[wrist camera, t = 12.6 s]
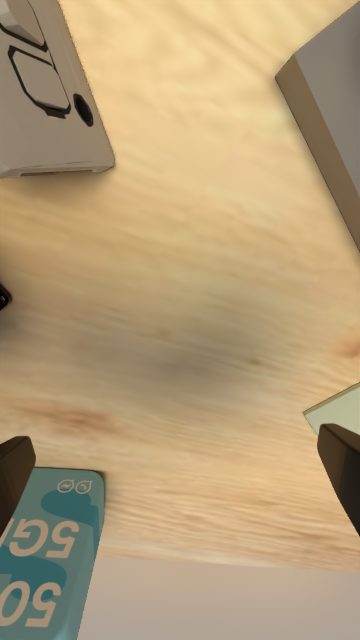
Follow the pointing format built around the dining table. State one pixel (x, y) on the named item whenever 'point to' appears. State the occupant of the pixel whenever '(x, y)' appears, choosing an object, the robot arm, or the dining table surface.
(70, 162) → the electrical switch
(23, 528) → the data package
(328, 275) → the dining table surface
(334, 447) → the robot arm
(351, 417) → the coaster
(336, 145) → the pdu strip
